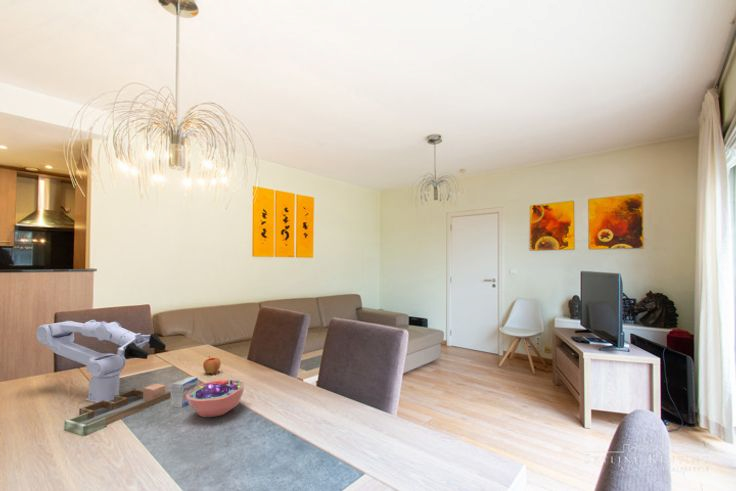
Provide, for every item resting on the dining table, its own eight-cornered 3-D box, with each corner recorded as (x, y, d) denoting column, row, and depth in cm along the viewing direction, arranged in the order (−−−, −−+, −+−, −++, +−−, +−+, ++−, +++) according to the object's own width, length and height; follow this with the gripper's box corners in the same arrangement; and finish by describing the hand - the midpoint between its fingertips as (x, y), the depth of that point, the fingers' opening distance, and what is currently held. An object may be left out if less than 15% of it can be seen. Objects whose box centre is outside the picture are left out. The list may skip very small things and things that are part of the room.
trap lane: (53, 426, 105) (54, 417, 105) (142, 392, 132) (142, 386, 132) (84, 435, 100) (84, 426, 100) (170, 399, 127) (170, 391, 127)
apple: (215, 376, 152) (216, 358, 152) (199, 376, 152) (200, 358, 153) (222, 371, 159) (223, 354, 160) (207, 370, 160) (208, 353, 160)
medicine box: (181, 409, 119) (182, 384, 119) (170, 407, 120) (172, 383, 120) (197, 400, 127) (198, 377, 127) (186, 398, 127) (188, 376, 128)
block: (142, 400, 124) (143, 387, 124) (155, 395, 129) (156, 383, 129) (152, 402, 122) (153, 390, 123) (164, 397, 127) (165, 385, 127)
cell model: (255, 406, 122) (256, 375, 123) (208, 431, 104) (210, 394, 105) (222, 397, 129) (223, 368, 130) (173, 419, 111) (175, 384, 112)
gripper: (109, 336, 118) (139, 349, 115) (145, 323, 132) (173, 334, 129) (106, 354, 119) (136, 368, 116) (142, 339, 133) (170, 351, 130)
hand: (156, 351), depth 123 cm, fingers open, 7 cm apart
